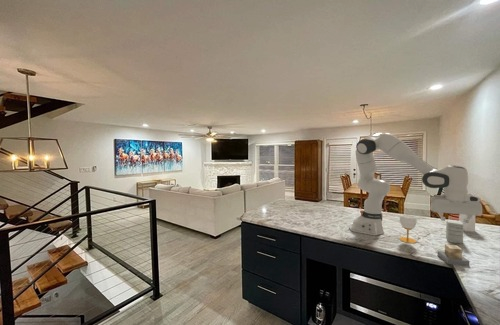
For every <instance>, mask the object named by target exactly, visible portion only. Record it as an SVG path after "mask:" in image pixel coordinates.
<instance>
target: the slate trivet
mask: <svg viewBox="0 0 500 325" xmlns="http://www.w3.org/2000/svg"><path fill="white" fill-rule="evenodd" d="M437 256H438V257H439V258H440V259H441V260H443V261H444V262H445V263H446V264H447V265H456V266H470V260H469V259H467V258H466V257H464V256H463V255H462V259H458V258H451V257H449V256H448V255H446V254H445V250H444V251H442V250H437Z"/></svg>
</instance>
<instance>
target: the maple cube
mask: <svg viewBox="0 0 500 325" xmlns="http://www.w3.org/2000/svg"><path fill="white" fill-rule="evenodd" d="M444 252H445V254H446V255H448V256H449V257H451V258H458V259H462V256H463V249H462V248H461V247H460V246H458V245H456V244H447V243H445V244H444Z"/></svg>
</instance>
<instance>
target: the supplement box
mask: <svg viewBox="0 0 500 325" xmlns="http://www.w3.org/2000/svg"><path fill="white" fill-rule="evenodd" d="M445 225H446V226H445V227H446V229H445V232H446V233H445V236H446V237H445V238H446V242H449V243H450V242H452V243H455V244H462V245H463V244H464V230H463V223H462V222H461V221H459V220H455V219H449V218H448V219H446V224H445Z"/></svg>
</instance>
